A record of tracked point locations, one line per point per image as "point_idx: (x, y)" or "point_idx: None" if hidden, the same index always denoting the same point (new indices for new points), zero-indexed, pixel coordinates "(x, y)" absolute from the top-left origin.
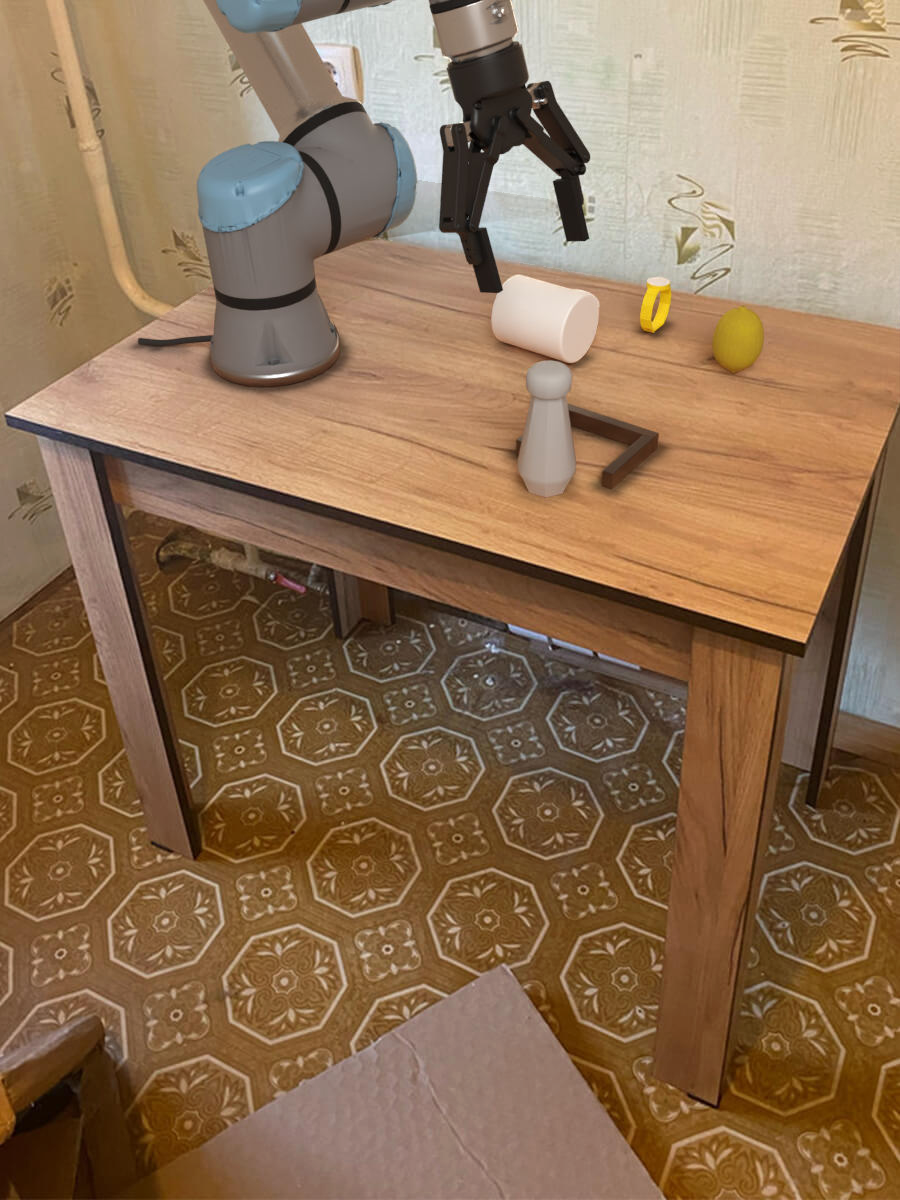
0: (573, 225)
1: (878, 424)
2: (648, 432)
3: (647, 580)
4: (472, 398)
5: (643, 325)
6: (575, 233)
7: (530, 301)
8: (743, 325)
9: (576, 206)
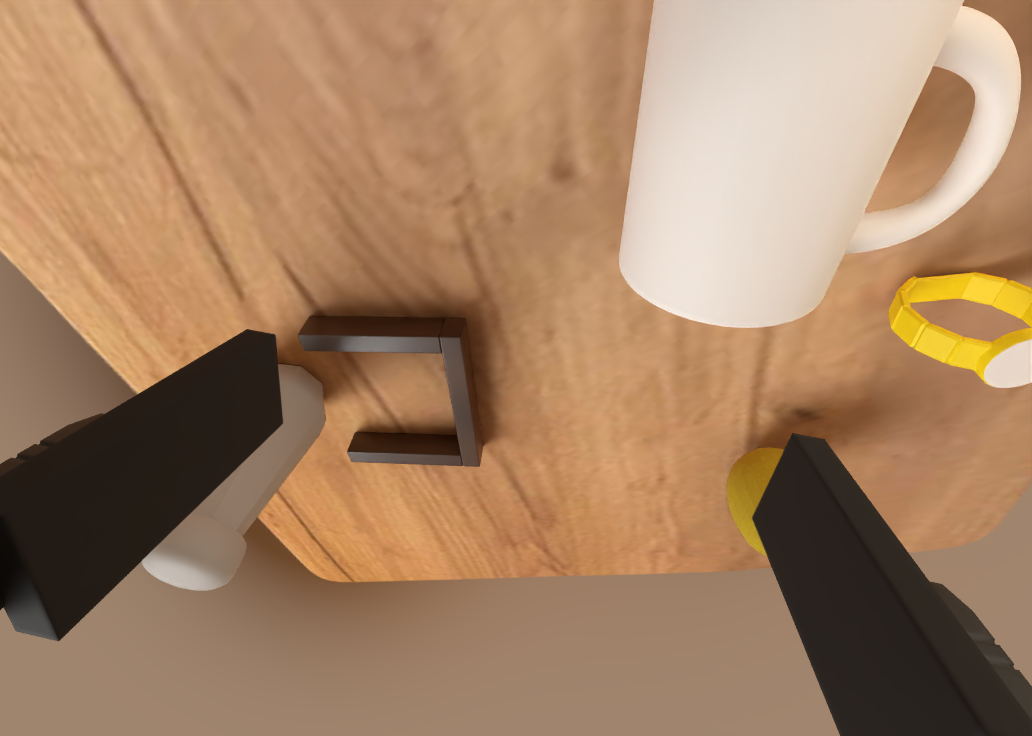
0: (792, 535)
1: (681, 570)
2: (471, 458)
3: (272, 510)
4: (387, 111)
5: (895, 299)
6: (777, 509)
7: (694, 169)
8: (756, 549)
9: (809, 651)
